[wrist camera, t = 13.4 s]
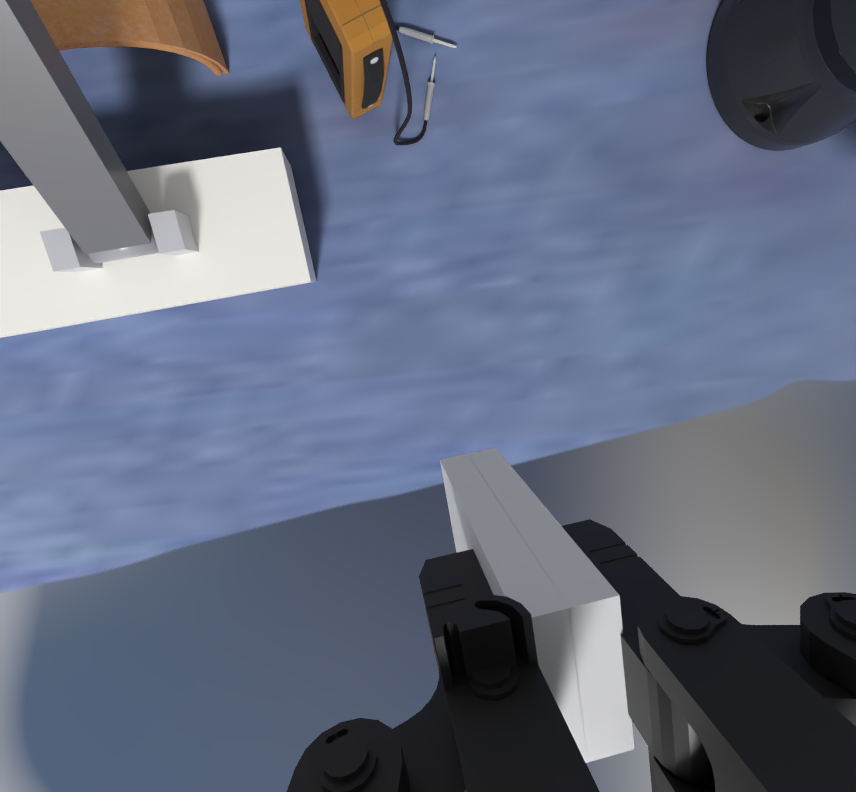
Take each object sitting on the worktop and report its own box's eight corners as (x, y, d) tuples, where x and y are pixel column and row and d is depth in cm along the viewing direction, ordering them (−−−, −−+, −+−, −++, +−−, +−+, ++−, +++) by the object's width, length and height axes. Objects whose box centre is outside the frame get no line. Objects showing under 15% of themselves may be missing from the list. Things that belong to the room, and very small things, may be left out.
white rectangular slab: (291, 166, 41) (274, 135, 32) (316, 281, 43) (307, 282, 34) (-4, 212, 39) (-108, 193, 30) (39, 331, 41) (-47, 345, 32)
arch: (230, 77, 39) (190, 11, 29) (-39, 147, 38) (-175, 101, 28) (201, -10, 38) (148, -109, 28) (-81, 59, 36) (-238, -20, 27)
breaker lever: (168, 233, 35) (-79, -216, 19) (166, 264, 34) (-109, -200, 17) (99, 244, 35) (-216, -204, 18) (92, 276, 33) (-262, -186, 17)
